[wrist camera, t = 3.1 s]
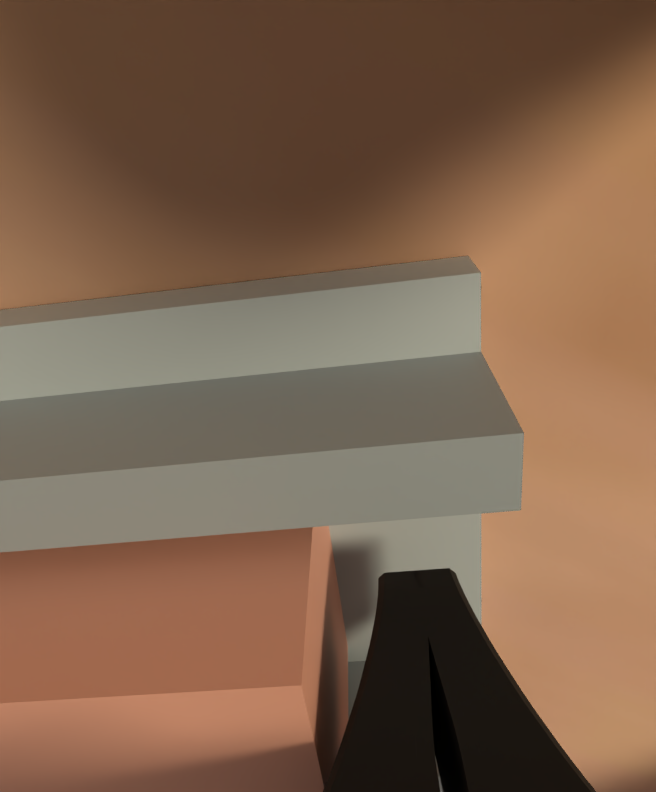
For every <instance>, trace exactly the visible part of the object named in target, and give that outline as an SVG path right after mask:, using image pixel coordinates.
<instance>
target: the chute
mask: <svg viewBox="0 0 656 792" xmlns="http://www.w3.org/2000/svg"><path fill="white" fill-rule="evenodd" d="M523 443H524V432H523V430H522V428H521V427H520V425H519V423H518V421H517V419H516V417H515V415H514V413H513V411H512V409H511V408H510V406H509V404H508V402H507V400H506V398H505V396H504V394H503V392H502V391H501V389H500V387H499V385H498V383H497V381H496V379H495V377H494V375H493V373H492V372H491V370H490V368H489V366H488V364H487V362H486V360H485V358H484V356H483V355H482V353H481V272H480V271H479V269H478V268H477V267H476V265H475V264H474V263H473V262H472V260H471V259H470V258H469V256H462V257H453V258H444V259H436V260H427V261H419V262H410V263H401V264H393V265H384V266H375V267H367V268H358V269H349V270H341V271H332V272H323V273H315V274H306V275H298V276H289V277H280V278H272V279H263V280H254V281H246V282H237V283H228V284H220V285H211V286H203V287H194V288H185V289H177V290H168V291H159V292H151V293H142V294H133V295H125V296H116V297H107V298H99V299H90V300H82V301H73V302H64V303H56V304H47V305H38V306H30V307H21V308H12V309H4V310H0V552H12V551H25V550H37V549H49V548H61V547H74V546H86V545H98V544H111V543H123V542H135V541H148V540H160V539H172V538H185V537H197V536H209V535H222V534H234V533H246V532H259V531H271V530H283V529H296V528H308V527H320V526H329V530H330V537H331V543H332V549H333V556H334V562H335V568H336V575H337V581H338V587H339V594H340V600H341V606H342V613H343V619H344V625H345V632H346V638H347V644H348V720H349V717H350V714H351V710H352V707H353V704H354V701H355V698H356V695H357V691H358V688H359V684H360V680H361V677H362V673H363V669H364V665H365V661H366V657H367V653H368V649H369V645H370V640H371V635H372V630H373V625H374V620H375V614H376V607H377V598H378V578H379V577H380V576H381V575H382V574H383V573H387V572H401V571H415V570H429V569H443V568H450V569H451V570H452V571H454V572H455V573H456V575H457V578H458V580H459V583H460V585H461V587H462V589H463V591H464V594H465V596H466V598H467V600H468V602H469V604H470V606H471V608H472V610H473V611H474V613H475V615H476V617H477V619H478V621H479V622H480V624H481V513H493V512H505V511H518V510H521V495H522V469H523ZM435 760H436V757H435ZM436 766H437V761H436ZM437 773H438V780H439V787H440V792H443V789H442V785H441V780H440V775H439V771H438V766H437Z"/></svg>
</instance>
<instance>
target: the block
mask: <svg viewBox="0 0 656 792" xmlns="http://www.w3.org/2000/svg"><path fill="white" fill-rule="evenodd" d="M347 723H348V644H347V638H346V632H345V625H344V619H343V613H342V606H341V600H340V594H339V587H338V581H337V575H336V568H335V562H334V556H333V549H332V543H331V537H330V530H329V526H320V527H308V528H296V529H283V530H271V531H259V532H246V533H234V534H222V535H209V536H197V537H185V538H172V539H160V540H148V541H135V542H123V543H111V544H98V545H86V546H74V547H61V548H49V549H37V550H25V551H12V552H0V792H323V790H324V788H325V785H326V782H327V780H328V777H329V775H330V772H331V769H332V767H333V764H334V761H335V758H336V756H337V753H338V750H339V747H340V744H341V741H342V738H343V735H344V732H345V729H346V726H347Z"/></svg>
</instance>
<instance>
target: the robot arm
mask: <svg viewBox="0 0 656 792" xmlns="http://www.w3.org/2000/svg"><path fill="white" fill-rule="evenodd" d="M435 757H436V760H435ZM436 761H437V766H438V771H439V775H440V780H441V785H442V789H443V792H596V791H595V790H594V788H593V787H592V786H591V785H590V783H589V782H588V781H587V780H586V778H585V777H584V776H583V775H582V773H581V772H580V771H579V769H578V768H577V767H576V766H575V764H574V763H573V762H572V760H571V759H570V758H569V756H568V755H567V754H566V752H565V751H564V750H563V748H562V747H561V746H560V744H559V743H558V742H557V740H556V739H555V738H554V736H553V735H552V733H551V732H550V731H549V729H548V728H547V726H546V725H545V724H544V722H543V721H542V719H541V718H540V717H539V715H538V714H537V712H536V711H535V710H534V708H533V707H532V705H531V704H530V702H529V701H528V699H527V698H526V696H525V695H524V694H523V692H522V691H521V689H520V688H519V686H518V684H517V683H516V681H515V680H514V678H513V677H512V675H511V674H510V672H509V670H508V669H507V667H506V666H505V664H504V663H503V661H502V659H501V658H500V656H499V655H498V653H497V652H496V650H495V648H494V647H493V645H492V643H491V642H490V640H489V638H488V637H487V635H486V633H485V631H484V629H483V628H482V626H481V624H480V622H479V621H478V619H477V617H476V615H475V613H474V611H473V610H472V608H471V606H470V604H469V602H468V600H467V598H466V596H465V594H464V591H463V589H462V587H461V585H460V583H459V580H458V578H457V575H456V573H455V572H454V571H452V570H451V569H450V568H443V569H429V570H415V571H401V572H387V573H383V574H382V575H381V576H380V577H379V578H378V598H377V607H376V614H375V620H374V625H373V630H372V635H371V640H370V645H369V649H368V653H367V657H366V661H365V665H364V669H363V673H362V677H361V680H360V684H359V688H358V691H357V695H356V698H355V701H354V704H353V707H352V710H351V714H350V717H349V720H348V723H347V726H346V729H345V732H344V735H343V738H342V741H341V744H340V747H339V750H338V753H337V756H336V758H335V761H334V764H333V767H332V769H331V772H330V775H329V777H328V780H327V782H326V785H325V788H324V790H323V792H440V787H439V780H438V773H437V766H436Z"/></svg>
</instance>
